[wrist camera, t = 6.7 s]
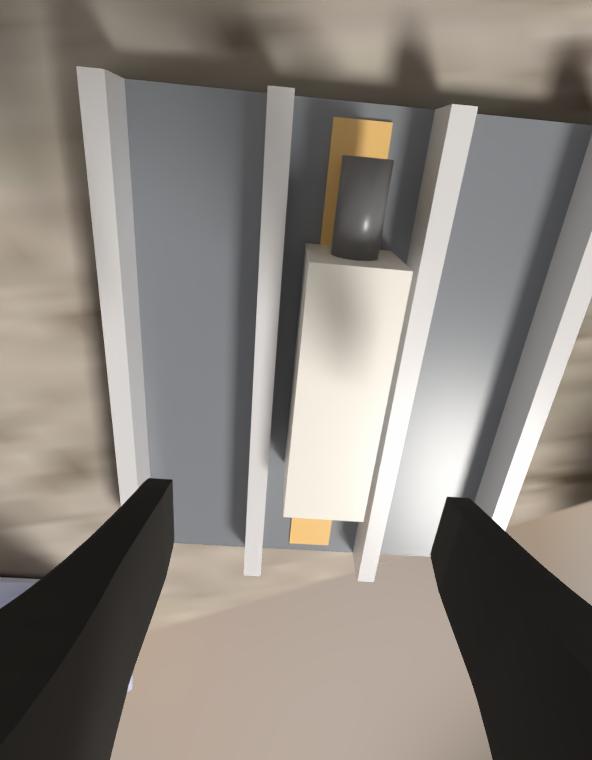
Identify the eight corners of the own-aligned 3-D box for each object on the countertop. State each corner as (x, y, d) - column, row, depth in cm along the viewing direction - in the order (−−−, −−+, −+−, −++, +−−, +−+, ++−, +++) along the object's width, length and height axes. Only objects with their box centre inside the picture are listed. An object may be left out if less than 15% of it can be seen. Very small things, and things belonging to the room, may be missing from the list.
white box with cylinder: (352, 468, 22) (363, 521, 18) (284, 464, 21) (283, 517, 18) (406, 162, 16) (434, 163, 13) (314, 153, 16) (320, 151, 13)
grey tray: (467, 544, 25) (487, 587, 23) (141, 526, 24) (123, 569, 22) (603, 129, 17) (659, 124, 14) (105, 80, 16) (70, 65, 13)
